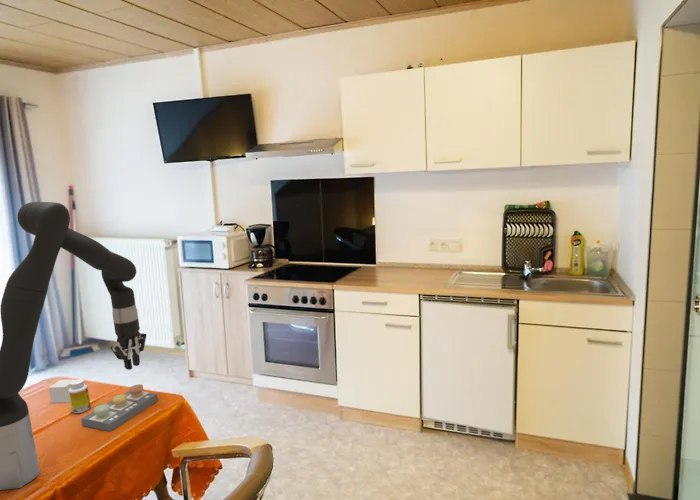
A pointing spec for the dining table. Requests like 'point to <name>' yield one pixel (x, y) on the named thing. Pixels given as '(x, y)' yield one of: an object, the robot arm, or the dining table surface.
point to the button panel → (120, 411)
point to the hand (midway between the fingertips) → (132, 366)
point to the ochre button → (119, 399)
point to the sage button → (101, 409)
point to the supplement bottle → (79, 396)
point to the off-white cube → (60, 391)
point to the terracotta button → (136, 389)
